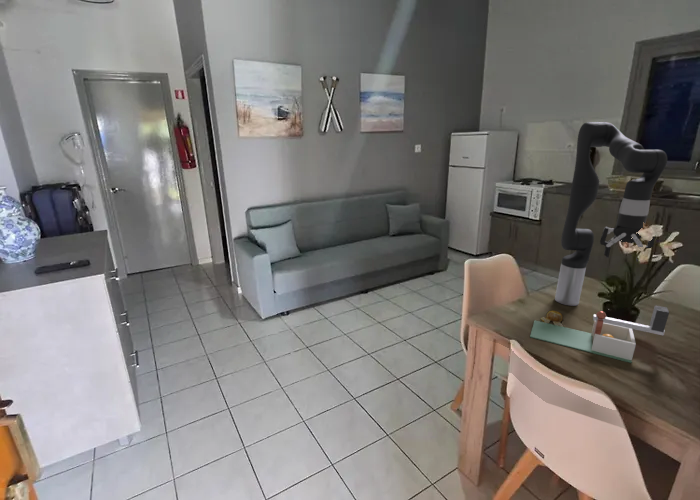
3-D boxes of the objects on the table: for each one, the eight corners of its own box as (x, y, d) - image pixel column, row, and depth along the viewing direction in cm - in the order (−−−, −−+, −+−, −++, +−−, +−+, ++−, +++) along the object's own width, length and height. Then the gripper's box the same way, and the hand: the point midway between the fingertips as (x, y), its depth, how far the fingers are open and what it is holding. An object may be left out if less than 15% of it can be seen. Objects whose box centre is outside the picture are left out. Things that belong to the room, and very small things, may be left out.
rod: (588, 337, 130) (597, 294, 124) (655, 353, 120) (668, 307, 115) (588, 343, 126) (598, 299, 121) (657, 359, 117) (671, 312, 112)
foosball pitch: (534, 321, 143) (536, 306, 141) (627, 342, 128) (631, 326, 126) (529, 337, 132) (532, 321, 130) (631, 363, 116) (636, 345, 115)
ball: (615, 343, 126) (600, 342, 128) (614, 331, 125) (598, 331, 127) (616, 349, 122) (600, 348, 125) (614, 337, 121) (599, 337, 124)
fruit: (539, 322, 143) (540, 313, 142) (544, 314, 149) (546, 306, 148) (562, 328, 138) (564, 320, 137) (567, 320, 144) (568, 312, 143)
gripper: (659, 212, 117) (646, 259, 122) (606, 208, 125) (597, 252, 130) (663, 217, 111) (650, 266, 116) (607, 212, 119) (597, 258, 124)
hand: (622, 259), depth 123 cm, fingers open, 8 cm apart
